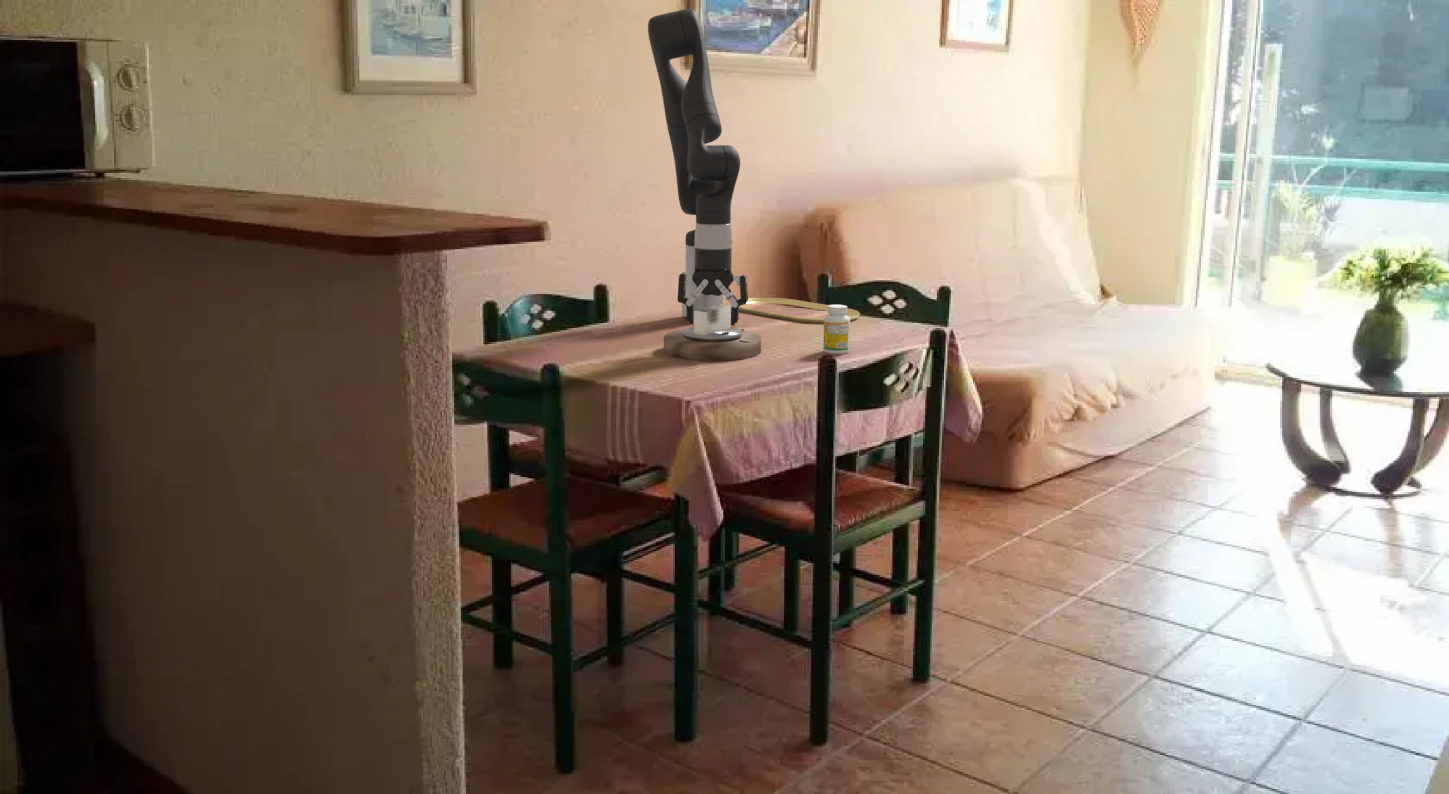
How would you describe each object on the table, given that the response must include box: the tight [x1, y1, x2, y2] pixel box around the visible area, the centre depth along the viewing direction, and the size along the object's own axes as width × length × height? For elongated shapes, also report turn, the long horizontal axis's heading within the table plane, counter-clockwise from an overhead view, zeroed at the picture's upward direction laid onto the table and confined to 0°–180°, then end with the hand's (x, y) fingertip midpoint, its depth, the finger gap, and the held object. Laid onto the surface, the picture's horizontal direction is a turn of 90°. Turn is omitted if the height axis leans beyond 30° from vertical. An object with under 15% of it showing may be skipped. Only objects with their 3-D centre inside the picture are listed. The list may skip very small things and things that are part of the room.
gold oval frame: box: [739, 297, 860, 324], centre depth 313 cm, size 19×35×2 cm, turn 45°
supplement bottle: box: [822, 304, 851, 355], centre depth 265 cm, size 5×5×10 cm
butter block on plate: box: [683, 303, 742, 341], centre depth 266 cm, size 15×12×6 cm
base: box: [663, 328, 762, 362], centre depth 266 cm, size 20×20×3 cm
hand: (712, 324), depth 265 cm, fingers open, 8 cm apart
